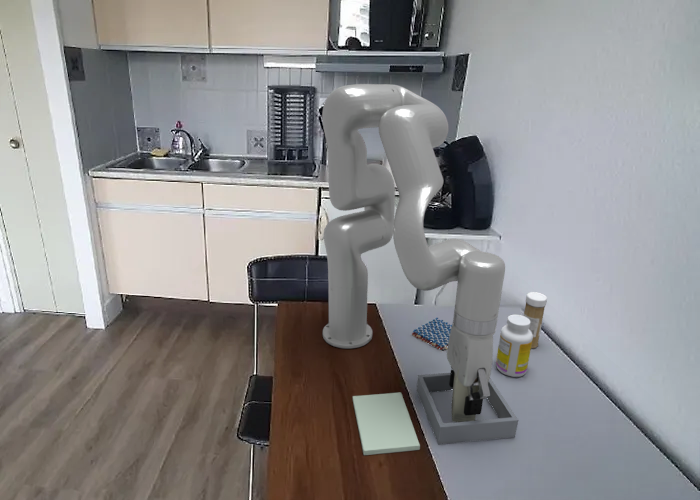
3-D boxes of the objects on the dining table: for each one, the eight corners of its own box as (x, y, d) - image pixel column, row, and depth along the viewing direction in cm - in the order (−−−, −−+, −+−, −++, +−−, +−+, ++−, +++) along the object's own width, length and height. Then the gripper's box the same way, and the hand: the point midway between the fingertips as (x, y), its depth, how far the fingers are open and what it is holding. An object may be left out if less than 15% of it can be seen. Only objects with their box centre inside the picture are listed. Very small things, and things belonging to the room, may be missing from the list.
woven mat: (409, 336, 112) (409, 329, 112) (434, 322, 119) (435, 315, 118) (442, 354, 105) (443, 347, 104) (467, 338, 112) (468, 331, 111)
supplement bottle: (527, 364, 101) (536, 316, 96) (525, 381, 95) (534, 330, 91) (497, 357, 104) (505, 309, 99) (493, 373, 98) (501, 323, 93)
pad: (352, 400, 89) (352, 396, 89) (400, 396, 91) (400, 392, 90) (363, 455, 76) (363, 450, 76) (419, 449, 78) (419, 445, 77)
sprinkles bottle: (541, 345, 108) (551, 296, 104) (530, 351, 106) (540, 302, 101) (525, 336, 112) (534, 289, 107) (514, 342, 109) (522, 294, 104)
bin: (416, 390, 92) (417, 375, 91) (482, 385, 94) (484, 369, 93) (438, 444, 79) (440, 427, 77) (515, 437, 81) (518, 420, 79)
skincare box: (474, 426, 83) (482, 372, 79) (451, 422, 84) (457, 369, 79) (473, 402, 89) (480, 352, 84) (451, 399, 90) (457, 349, 85)
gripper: (439, 298, 86) (432, 372, 93) (473, 349, 70) (462, 435, 77) (475, 296, 87) (466, 370, 94) (518, 346, 71) (502, 431, 78)
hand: (464, 398), depth 85 cm, fingers closed on skincare box, 7 cm apart
